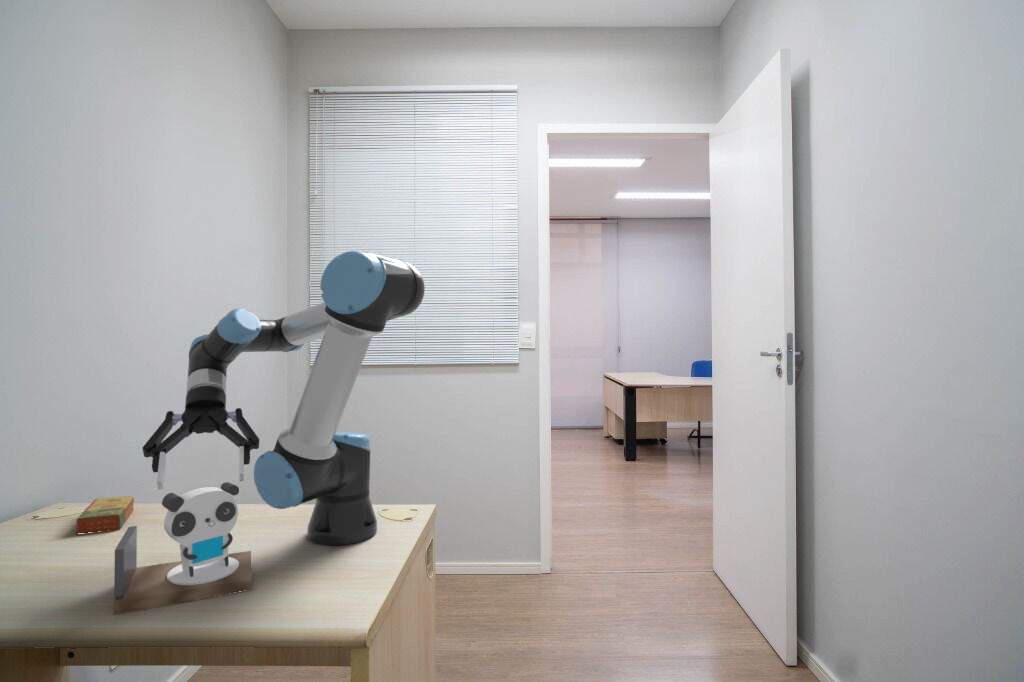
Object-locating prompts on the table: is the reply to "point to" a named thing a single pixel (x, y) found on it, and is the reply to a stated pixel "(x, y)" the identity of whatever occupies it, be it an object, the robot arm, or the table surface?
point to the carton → (105, 514)
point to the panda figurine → (202, 533)
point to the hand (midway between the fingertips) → (201, 481)
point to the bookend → (125, 562)
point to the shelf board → (179, 586)
